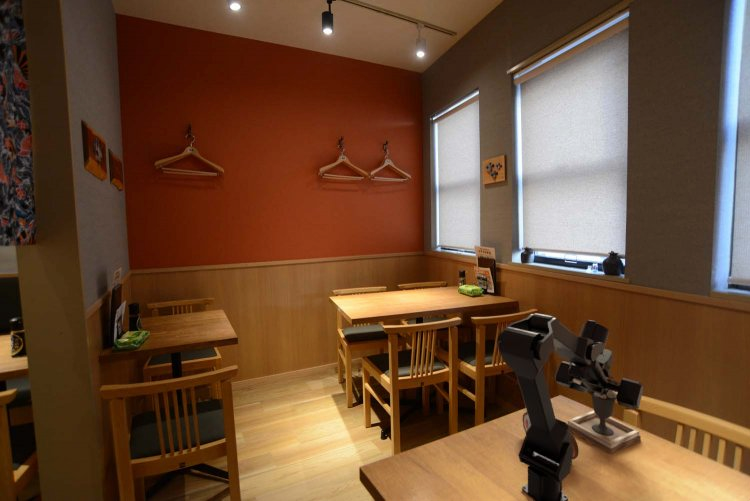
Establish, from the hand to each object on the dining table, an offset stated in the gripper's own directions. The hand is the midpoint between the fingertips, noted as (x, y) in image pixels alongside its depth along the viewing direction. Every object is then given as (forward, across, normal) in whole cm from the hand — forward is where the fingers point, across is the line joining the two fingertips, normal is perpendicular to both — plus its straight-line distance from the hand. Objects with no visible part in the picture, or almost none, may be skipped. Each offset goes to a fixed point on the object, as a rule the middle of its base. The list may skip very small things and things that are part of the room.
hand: (604, 397), depth 93 cm
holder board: (+6, 0, +8) cm, 10 cm away
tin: (-6, +6, +20) cm, 22 cm away
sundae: (+5, 0, +7) cm, 9 cm away
